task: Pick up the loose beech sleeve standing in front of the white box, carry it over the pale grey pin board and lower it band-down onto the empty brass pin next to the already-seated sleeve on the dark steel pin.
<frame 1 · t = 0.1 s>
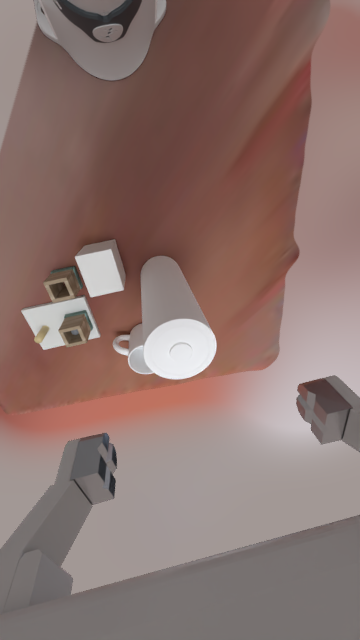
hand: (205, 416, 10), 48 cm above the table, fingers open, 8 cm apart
cylinder container: (161, 275, 57), on the table
sleeve seated: (79, 320, 58), point 1 cm above the table, touching pin board
mug: (138, 333, 64), on the table
white box: (105, 261, 53), on the table
sleeve: (68, 278, 54), on the table
pin board: (64, 322, 59), on the table
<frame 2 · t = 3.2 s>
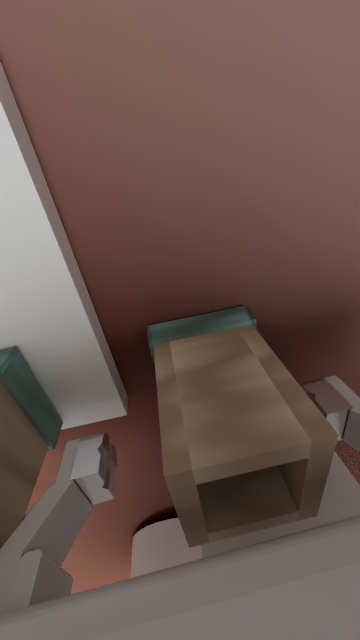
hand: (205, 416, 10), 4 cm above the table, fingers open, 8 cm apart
cylinder container: (184, 533, 23), on the table
white box: (242, 445, 18), on the table
sleeve: (201, 353, 13), on the table
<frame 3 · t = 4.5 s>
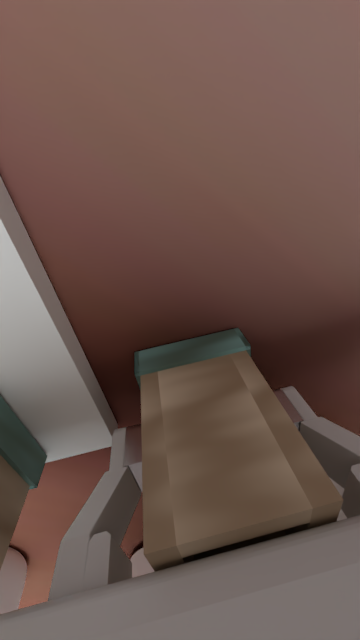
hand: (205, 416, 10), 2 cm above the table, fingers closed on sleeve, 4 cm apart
cylinder container: (183, 551, 22), on the table, touching arm
sleeve: (194, 377, 12), on the table, touching gripper
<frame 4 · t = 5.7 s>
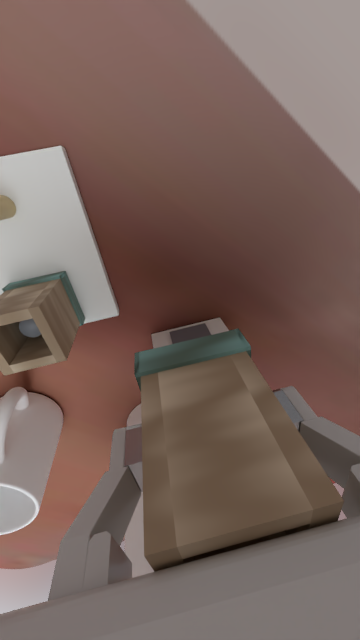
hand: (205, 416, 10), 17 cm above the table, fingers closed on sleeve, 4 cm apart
cylinder container: (161, 420, 34), on the table
sleeve seated: (49, 301, 22), point 1 cm above the table, touching pin board
mug: (29, 402, 29), on the table
white box: (190, 348, 29), on the table
sleeve: (194, 378, 12), point 14 cm above the table, touching gripper
pin board: (34, 255, 22), on the table
when the fingers open (5 cm above the table, at t = 10.1 s): sleeve drops 1 cm, resting on pin board.
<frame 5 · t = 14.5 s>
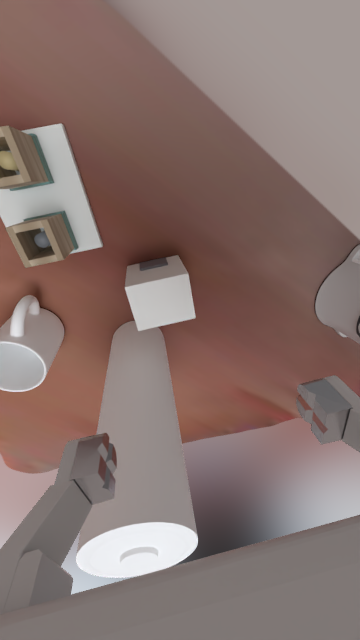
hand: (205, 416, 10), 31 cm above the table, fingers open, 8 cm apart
cylinder container: (138, 342, 45), on the table
sleeve seated: (54, 233, 33), point 1 cm above the table, touching pin board
mug: (39, 317, 40), on the table
white box: (157, 280, 40), on the table
sleeve: (26, 164, 29), point 1 cm above the table, touching pin board
pin board: (44, 200, 32), on the table
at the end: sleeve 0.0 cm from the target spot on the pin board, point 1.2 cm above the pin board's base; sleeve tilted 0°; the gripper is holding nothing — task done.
